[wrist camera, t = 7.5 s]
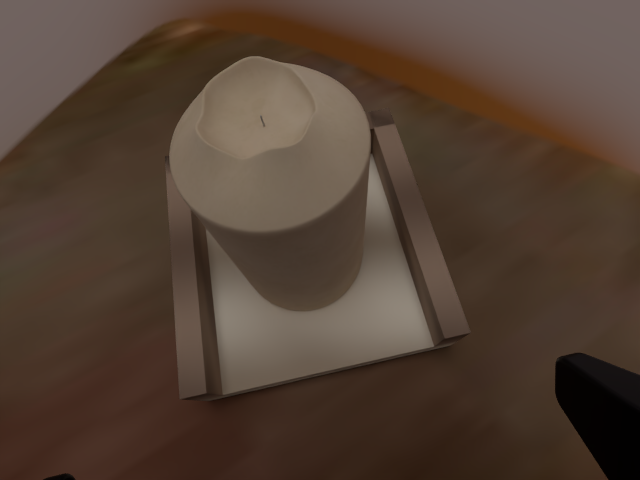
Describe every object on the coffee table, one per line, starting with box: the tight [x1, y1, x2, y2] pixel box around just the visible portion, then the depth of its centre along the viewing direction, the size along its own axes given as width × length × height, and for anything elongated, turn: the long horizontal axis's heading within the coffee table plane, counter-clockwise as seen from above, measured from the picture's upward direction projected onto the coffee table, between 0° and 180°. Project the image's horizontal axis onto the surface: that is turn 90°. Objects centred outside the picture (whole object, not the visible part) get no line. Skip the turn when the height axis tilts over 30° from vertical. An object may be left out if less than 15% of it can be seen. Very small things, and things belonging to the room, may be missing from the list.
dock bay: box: [165, 108, 471, 401], centre depth 18 cm, size 11×11×3 cm
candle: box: [169, 56, 371, 311], centre depth 14 cm, size 6×6×10 cm
